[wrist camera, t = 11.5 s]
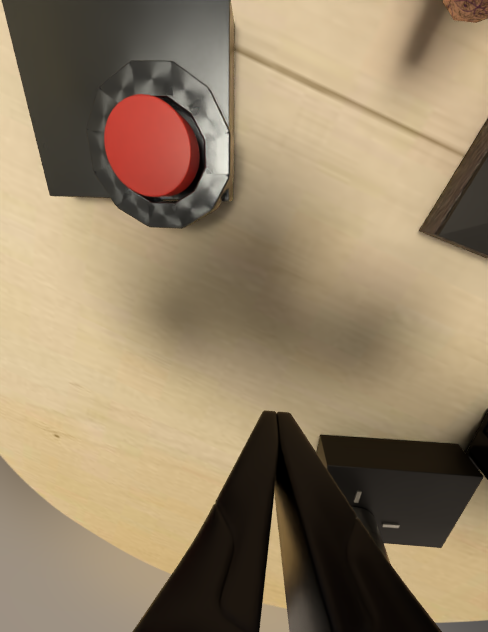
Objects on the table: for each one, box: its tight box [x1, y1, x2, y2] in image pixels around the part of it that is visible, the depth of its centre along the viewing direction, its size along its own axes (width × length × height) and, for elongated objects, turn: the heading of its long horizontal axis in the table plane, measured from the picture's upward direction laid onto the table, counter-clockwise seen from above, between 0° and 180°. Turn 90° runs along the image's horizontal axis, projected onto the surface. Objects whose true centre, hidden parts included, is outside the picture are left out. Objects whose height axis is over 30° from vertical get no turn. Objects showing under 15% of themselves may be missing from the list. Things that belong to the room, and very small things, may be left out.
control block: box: [2, 0, 235, 228], centre depth 14 cm, size 10×9×4 cm
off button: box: [104, 94, 200, 197], centre depth 12 cm, size 4×4×2 cm
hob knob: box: [352, 507, 391, 565], centre depth 22 cm, size 4×4×5 cm
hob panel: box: [317, 435, 483, 548], centre depth 25 cm, size 13×11×3 cm
